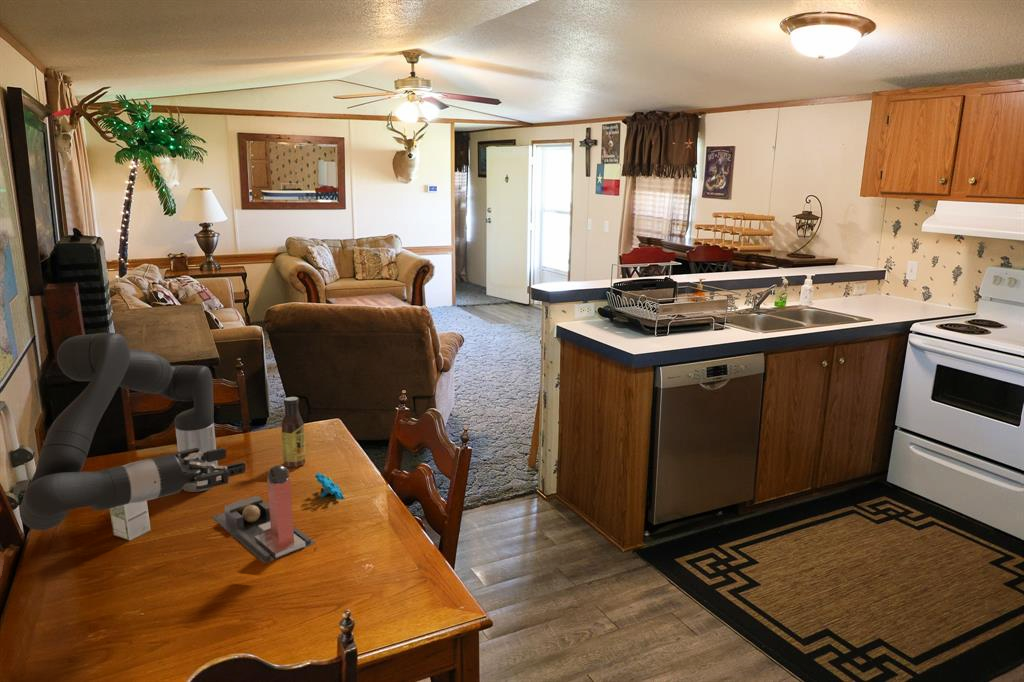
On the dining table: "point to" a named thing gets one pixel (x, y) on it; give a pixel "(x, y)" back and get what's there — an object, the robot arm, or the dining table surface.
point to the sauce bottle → (293, 434)
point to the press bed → (251, 526)
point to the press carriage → (279, 516)
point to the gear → (329, 486)
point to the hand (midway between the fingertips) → (234, 459)
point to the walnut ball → (251, 513)
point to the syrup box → (130, 520)
